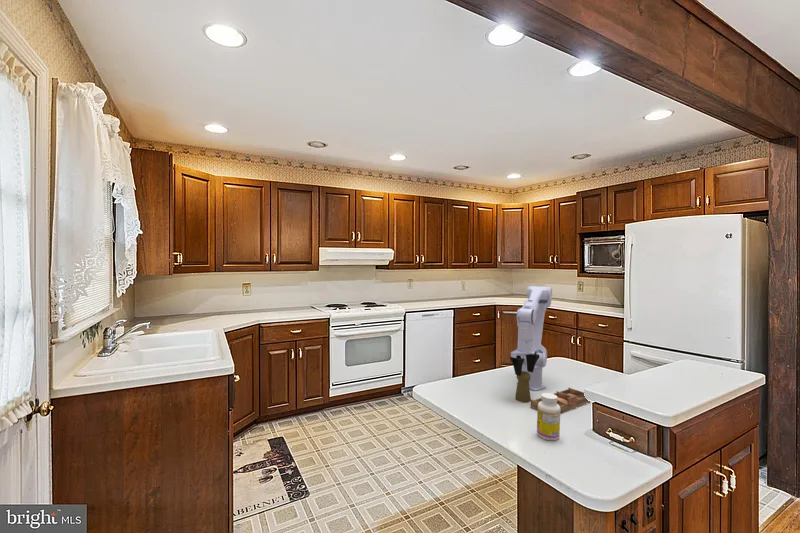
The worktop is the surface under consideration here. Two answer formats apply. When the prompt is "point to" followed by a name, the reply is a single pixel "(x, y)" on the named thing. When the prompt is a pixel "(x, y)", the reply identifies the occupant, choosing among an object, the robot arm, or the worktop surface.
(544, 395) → the supplement bottle
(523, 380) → the olive bulbous cylinder
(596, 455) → the worktop surface
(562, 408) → the spice rack
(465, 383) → the worktop surface
